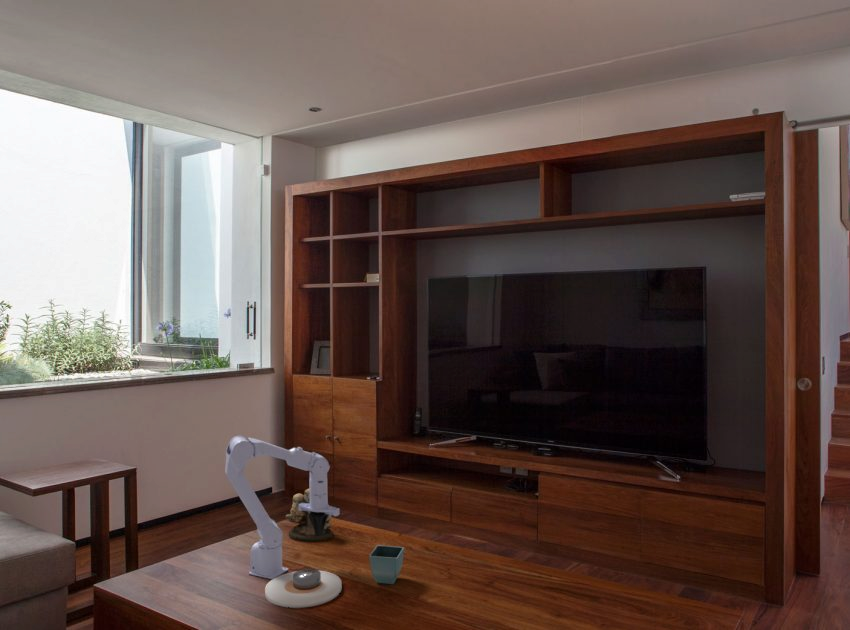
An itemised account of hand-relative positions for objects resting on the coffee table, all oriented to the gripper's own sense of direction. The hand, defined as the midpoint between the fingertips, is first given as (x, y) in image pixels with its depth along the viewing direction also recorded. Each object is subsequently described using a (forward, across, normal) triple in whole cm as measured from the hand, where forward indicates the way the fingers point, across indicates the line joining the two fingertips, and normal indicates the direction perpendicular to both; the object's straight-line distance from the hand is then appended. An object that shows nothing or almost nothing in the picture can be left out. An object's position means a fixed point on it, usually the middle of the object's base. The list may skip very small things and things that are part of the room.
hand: (319, 535), depth 213 cm
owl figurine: (+10, +18, -20) cm, 29 cm away
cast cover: (+8, -8, +17) cm, 20 cm away
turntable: (+9, -7, +18) cm, 21 cm away
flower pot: (+10, -26, +2) cm, 28 cm away
